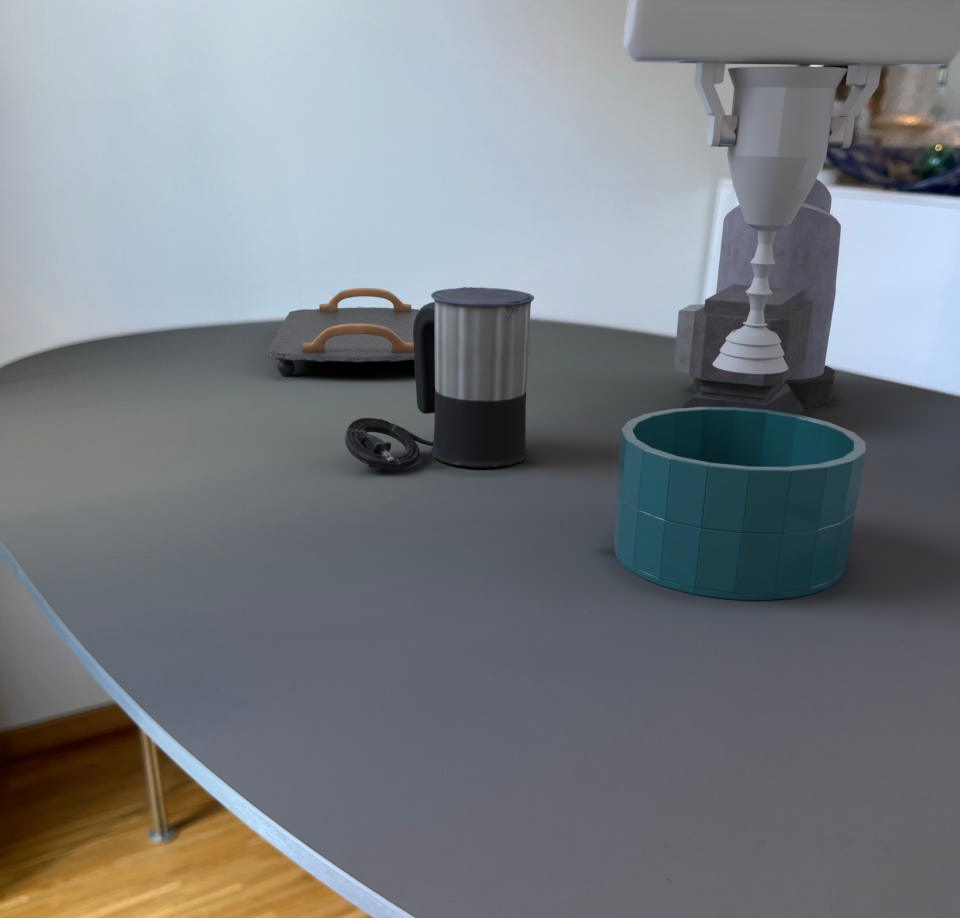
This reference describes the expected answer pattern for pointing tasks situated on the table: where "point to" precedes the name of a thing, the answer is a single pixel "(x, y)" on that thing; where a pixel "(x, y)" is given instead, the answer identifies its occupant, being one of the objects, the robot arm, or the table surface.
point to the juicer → (768, 313)
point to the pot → (736, 501)
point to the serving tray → (346, 332)
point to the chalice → (773, 182)
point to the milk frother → (463, 382)
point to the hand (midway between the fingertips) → (778, 147)
